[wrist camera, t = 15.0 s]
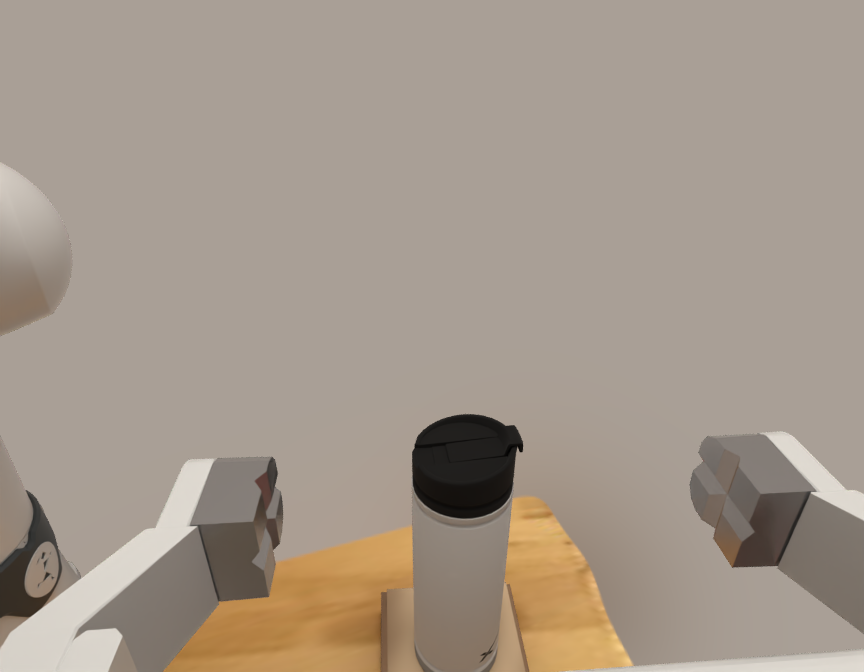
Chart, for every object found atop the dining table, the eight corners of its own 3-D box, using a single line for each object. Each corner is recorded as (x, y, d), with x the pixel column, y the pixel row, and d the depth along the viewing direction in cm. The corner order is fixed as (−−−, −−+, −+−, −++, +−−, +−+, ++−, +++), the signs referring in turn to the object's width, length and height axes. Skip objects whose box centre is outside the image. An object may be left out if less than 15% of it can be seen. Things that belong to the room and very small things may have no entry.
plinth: (382, 757, 40) (380, 726, 38) (382, 614, 50) (380, 584, 48) (536, 744, 41) (541, 714, 39) (507, 606, 50) (510, 576, 48)
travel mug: (510, 681, 41) (537, 469, 31) (419, 693, 40) (416, 480, 30) (491, 603, 46) (508, 402, 36) (410, 613, 45) (406, 410, 36)
